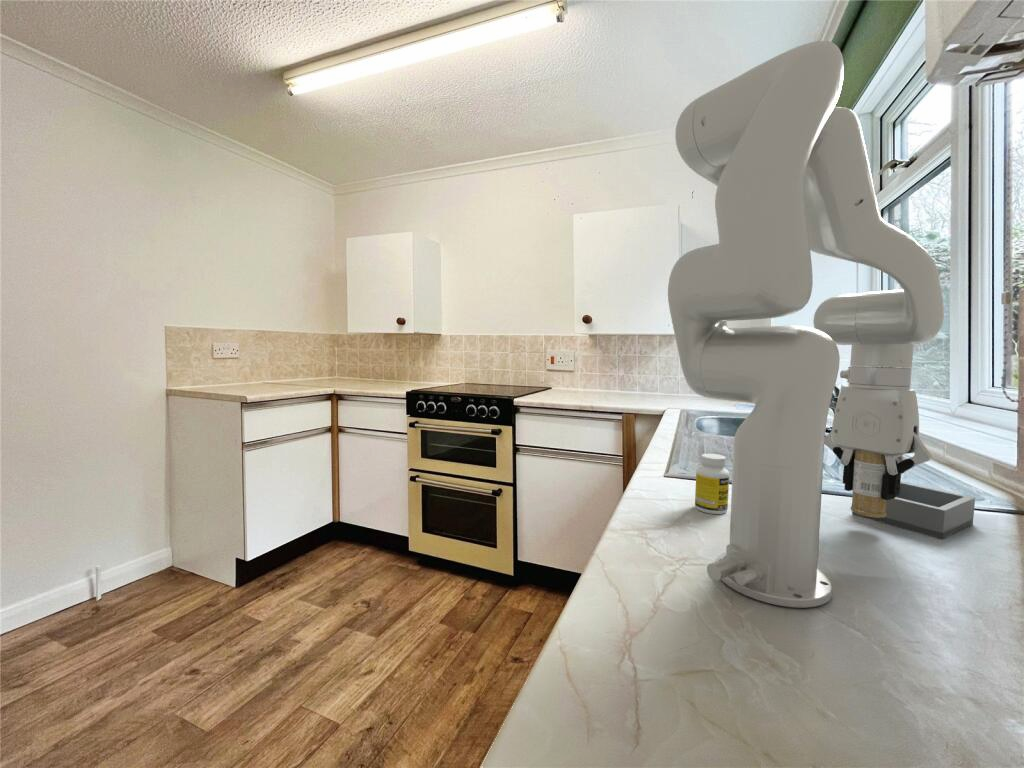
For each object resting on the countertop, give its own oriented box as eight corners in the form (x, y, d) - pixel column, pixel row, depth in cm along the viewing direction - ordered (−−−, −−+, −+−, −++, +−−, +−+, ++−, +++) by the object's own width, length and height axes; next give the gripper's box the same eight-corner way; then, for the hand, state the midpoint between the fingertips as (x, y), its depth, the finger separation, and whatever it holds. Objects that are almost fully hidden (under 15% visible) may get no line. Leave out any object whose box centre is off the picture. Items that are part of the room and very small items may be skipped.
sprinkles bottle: (890, 515, 72) (897, 431, 71) (879, 520, 69) (886, 433, 68) (856, 507, 75) (862, 427, 75) (844, 511, 73) (850, 428, 72)
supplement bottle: (721, 517, 78) (724, 461, 77) (690, 509, 81) (691, 456, 80) (731, 509, 82) (734, 455, 81) (701, 502, 85) (703, 450, 84)
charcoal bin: (942, 539, 69) (944, 510, 68) (852, 513, 79) (853, 488, 79) (972, 524, 74) (975, 497, 74) (885, 502, 85) (886, 478, 85)
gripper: (808, 376, 76) (800, 482, 77) (939, 382, 62) (927, 514, 63) (832, 376, 80) (824, 478, 81) (961, 382, 65) (949, 507, 66)
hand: (869, 492), depth 72 cm, fingers closed on sprinkles bottle, 4 cm apart
